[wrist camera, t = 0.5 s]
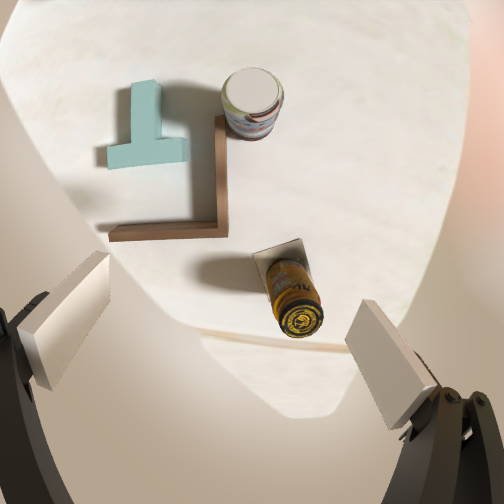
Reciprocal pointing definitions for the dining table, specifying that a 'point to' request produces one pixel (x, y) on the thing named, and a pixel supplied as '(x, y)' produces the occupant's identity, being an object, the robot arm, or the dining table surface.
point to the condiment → (290, 288)
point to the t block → (146, 132)
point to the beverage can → (252, 102)
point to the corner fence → (189, 228)
